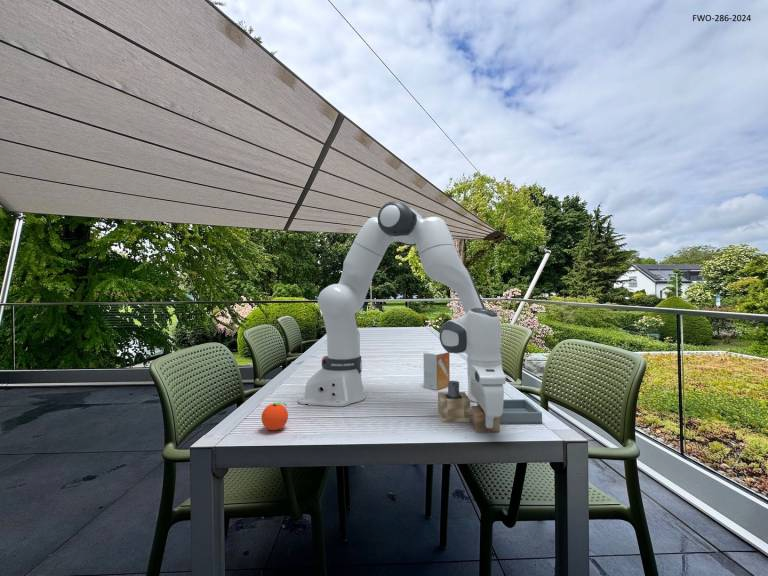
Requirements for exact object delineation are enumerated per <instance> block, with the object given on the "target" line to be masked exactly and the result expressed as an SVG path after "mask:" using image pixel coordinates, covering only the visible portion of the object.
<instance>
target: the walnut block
mask: <svg viewBox="0 0 768 576" xmlns="http://www.w3.org/2000/svg"><path fill="white" fill-rule="evenodd" d="M485 416H486V415H485V412H484V410H483V409H482V408H481V406H477V405H470V422H471V425H472V427H473V429H474V431H475V433H500V432H501V429H500V428H501V427H500V426H501V424H500V416H497V417H494V420H493V427H492V428H487V427H486V426H485Z"/></svg>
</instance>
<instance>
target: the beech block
mask: <svg viewBox="0 0 768 576" xmlns="http://www.w3.org/2000/svg"><path fill="white" fill-rule="evenodd" d="M437 413H438V416H439V419H440V422H441V423H470V422H471V400H470V399H469V398H468V395H467V393H466V392H465V391H459V399H448V391H445V392H444V391H441V392H439V391H438V392H437Z"/></svg>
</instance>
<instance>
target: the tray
mask: <svg viewBox="0 0 768 576" xmlns="http://www.w3.org/2000/svg"><path fill="white" fill-rule="evenodd" d="M542 424H543V412H542V411H540V410H539V409H538V408H537V407H536V406H535V405H534V404H532V403H531V402H530V401H529V400H528V399H525V398H523V399H522V398H521V399H518V398H517V399H504V403H503V412H502V415H501V416H500V425H542Z"/></svg>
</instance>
